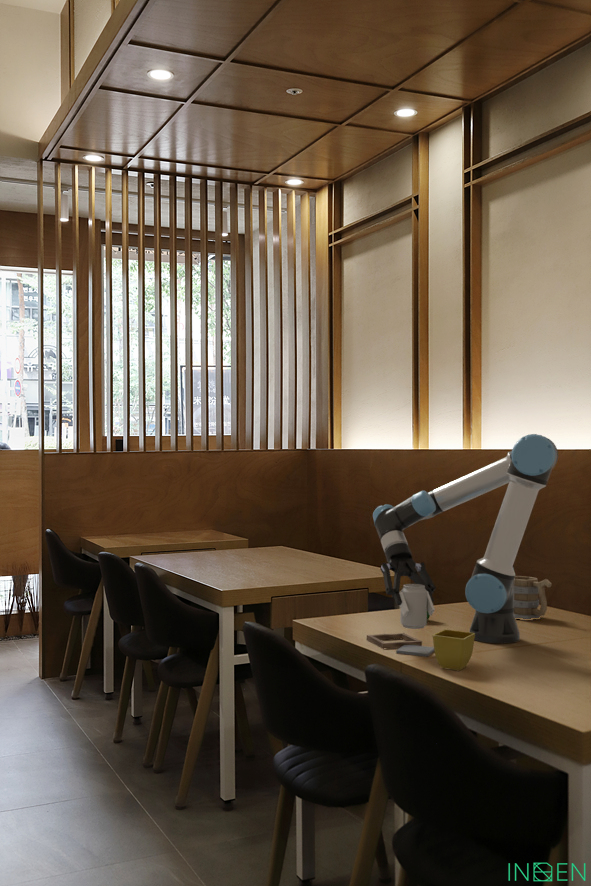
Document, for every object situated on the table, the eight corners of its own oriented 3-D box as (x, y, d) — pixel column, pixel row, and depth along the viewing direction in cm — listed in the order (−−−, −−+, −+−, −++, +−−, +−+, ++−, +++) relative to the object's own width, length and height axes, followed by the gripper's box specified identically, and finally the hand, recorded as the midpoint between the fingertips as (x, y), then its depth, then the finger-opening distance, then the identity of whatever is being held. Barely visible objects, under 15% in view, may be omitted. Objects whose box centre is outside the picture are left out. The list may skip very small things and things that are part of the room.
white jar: (426, 630, 232) (426, 587, 232) (399, 628, 233) (400, 585, 234) (427, 625, 239) (428, 583, 240) (401, 623, 241) (402, 582, 241)
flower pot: (463, 674, 211) (463, 638, 212) (431, 669, 216) (431, 634, 216) (475, 667, 219) (475, 633, 219) (444, 662, 223) (444, 629, 224)
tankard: (496, 615, 297) (496, 573, 297) (524, 613, 302) (524, 572, 302) (534, 625, 279) (534, 580, 279) (563, 623, 284) (563, 579, 284)
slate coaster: (435, 650, 238) (435, 647, 238) (427, 656, 230) (427, 653, 230) (405, 647, 242) (405, 644, 242) (396, 653, 234) (396, 650, 234)
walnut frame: (403, 637, 255) (403, 633, 255) (421, 646, 243) (421, 641, 243) (366, 639, 251) (366, 634, 251) (382, 648, 239) (382, 643, 239)
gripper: (422, 556, 254) (446, 619, 239) (361, 557, 248) (382, 621, 233) (431, 541, 250) (456, 604, 234) (368, 541, 243) (390, 606, 228)
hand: (419, 613), depth 233 cm, fingers closed on white jar, 7 cm apart
